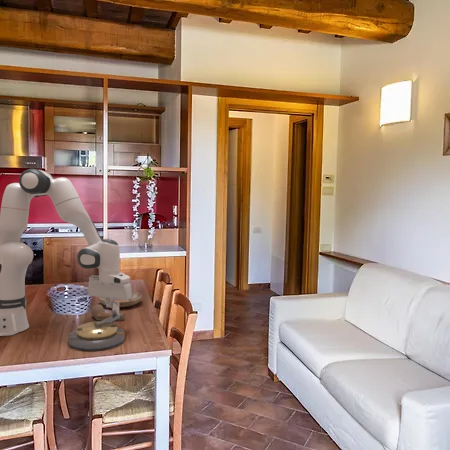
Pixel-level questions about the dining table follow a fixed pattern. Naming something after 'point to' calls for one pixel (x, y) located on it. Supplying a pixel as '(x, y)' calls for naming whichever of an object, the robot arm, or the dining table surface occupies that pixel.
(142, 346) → the dining table surface
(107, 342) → the disc
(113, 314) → the round gold-topped disc
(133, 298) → the ceramic bowl
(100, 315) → the pipe
